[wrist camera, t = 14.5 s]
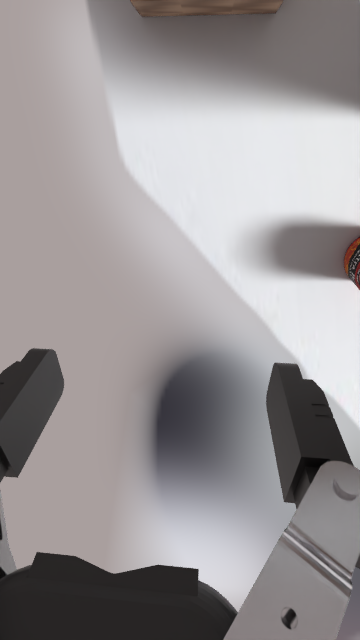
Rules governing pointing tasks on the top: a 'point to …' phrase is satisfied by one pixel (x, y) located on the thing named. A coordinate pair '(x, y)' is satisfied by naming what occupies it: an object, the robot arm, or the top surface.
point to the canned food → (353, 262)
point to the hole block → (204, 7)
